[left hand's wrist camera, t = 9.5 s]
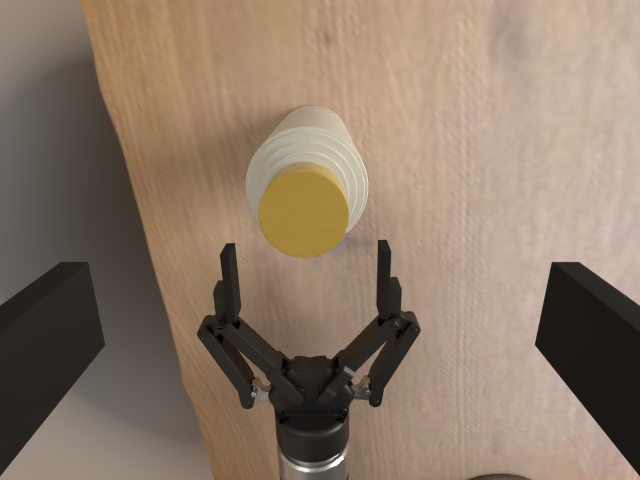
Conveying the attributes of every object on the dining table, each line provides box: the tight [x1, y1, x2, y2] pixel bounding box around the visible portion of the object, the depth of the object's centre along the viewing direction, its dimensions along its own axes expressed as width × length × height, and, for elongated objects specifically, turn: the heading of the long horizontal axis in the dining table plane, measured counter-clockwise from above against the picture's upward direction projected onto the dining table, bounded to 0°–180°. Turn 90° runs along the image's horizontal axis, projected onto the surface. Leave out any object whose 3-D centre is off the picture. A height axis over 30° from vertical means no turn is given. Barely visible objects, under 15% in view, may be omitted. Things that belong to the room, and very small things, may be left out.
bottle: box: [245, 105, 368, 234], centre depth 30 cm, size 7×7×22 cm
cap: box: [258, 162, 349, 258], centre depth 21 cm, size 4×4×2 cm
